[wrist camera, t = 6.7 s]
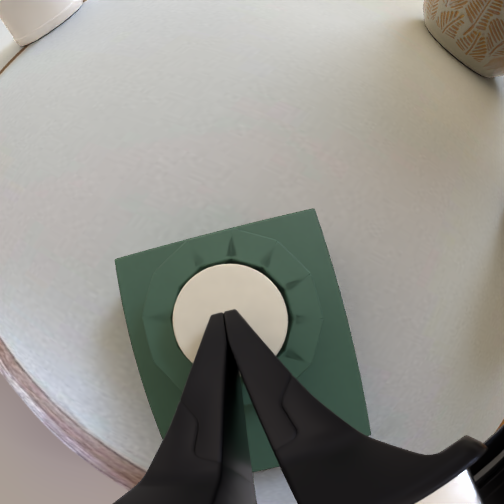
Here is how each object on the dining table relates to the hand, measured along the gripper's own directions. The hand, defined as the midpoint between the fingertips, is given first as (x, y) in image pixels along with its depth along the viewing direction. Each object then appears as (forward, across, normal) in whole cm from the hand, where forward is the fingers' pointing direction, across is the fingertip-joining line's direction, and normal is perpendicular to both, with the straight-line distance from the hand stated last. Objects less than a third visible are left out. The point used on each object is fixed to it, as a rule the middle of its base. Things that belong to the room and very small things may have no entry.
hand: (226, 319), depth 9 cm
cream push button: (+2, 0, +2) cm, 3 cm away
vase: (+24, -41, -13) cm, 50 cm away
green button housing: (+4, 0, +7) cm, 8 cm away
